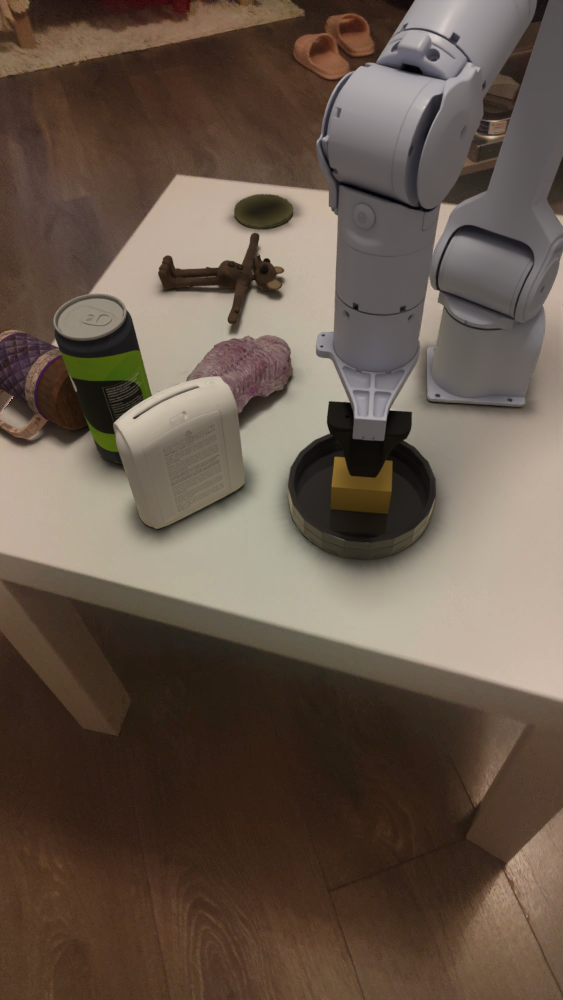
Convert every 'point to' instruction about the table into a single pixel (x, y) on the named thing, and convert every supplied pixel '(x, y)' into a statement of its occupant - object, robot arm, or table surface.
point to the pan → (360, 529)
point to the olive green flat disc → (263, 210)
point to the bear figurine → (226, 276)
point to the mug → (38, 383)
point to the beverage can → (102, 363)
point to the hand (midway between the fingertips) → (365, 436)
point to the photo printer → (181, 449)
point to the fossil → (248, 366)
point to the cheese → (360, 489)
